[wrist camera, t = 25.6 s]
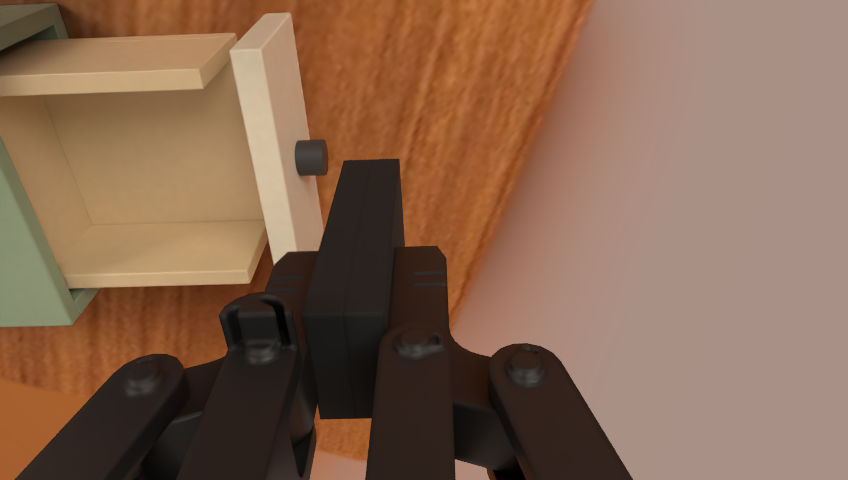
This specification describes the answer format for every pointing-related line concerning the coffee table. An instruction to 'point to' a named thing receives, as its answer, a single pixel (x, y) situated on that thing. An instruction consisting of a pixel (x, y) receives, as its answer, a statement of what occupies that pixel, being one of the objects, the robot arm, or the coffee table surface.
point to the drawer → (164, 153)
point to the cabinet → (30, 211)
